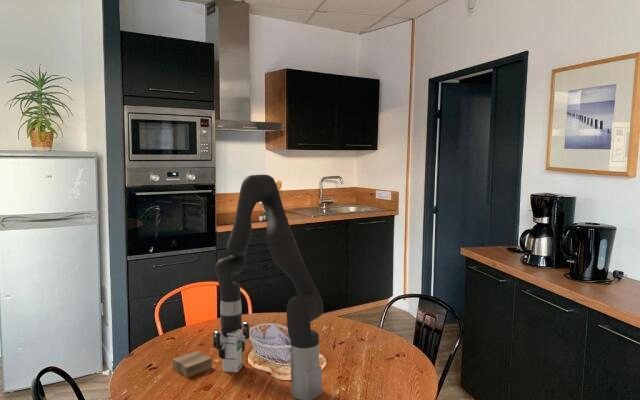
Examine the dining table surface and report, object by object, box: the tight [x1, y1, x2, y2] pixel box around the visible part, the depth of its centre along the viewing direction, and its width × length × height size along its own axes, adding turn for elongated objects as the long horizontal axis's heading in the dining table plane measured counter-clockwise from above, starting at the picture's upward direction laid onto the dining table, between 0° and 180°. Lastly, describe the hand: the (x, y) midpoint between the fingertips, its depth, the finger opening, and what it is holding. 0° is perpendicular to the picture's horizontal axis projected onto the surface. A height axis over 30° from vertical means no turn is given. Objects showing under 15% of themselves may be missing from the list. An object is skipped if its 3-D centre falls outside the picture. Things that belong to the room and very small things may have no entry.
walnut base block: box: [172, 350, 213, 378], centre depth 173 cm, size 10×10×4 cm
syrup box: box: [220, 329, 244, 373], centre depth 172 cm, size 6×6×14 cm
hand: (232, 354), depth 172 cm, fingers closed on syrup box, 8 cm apart
